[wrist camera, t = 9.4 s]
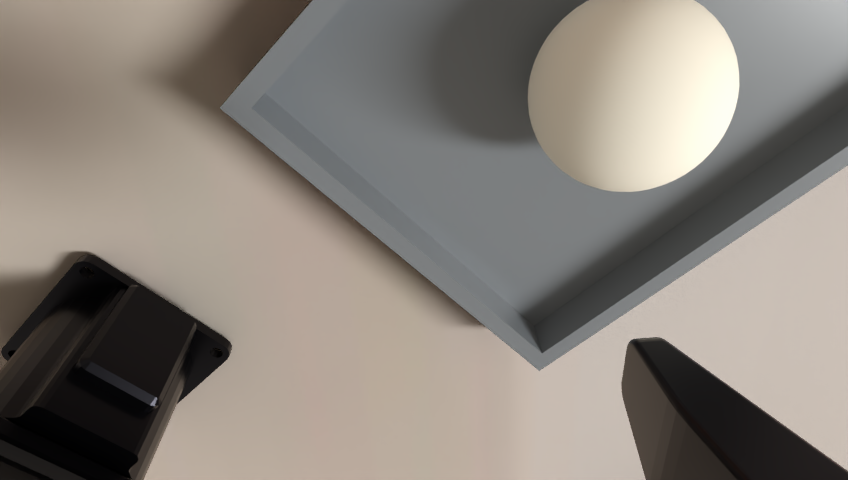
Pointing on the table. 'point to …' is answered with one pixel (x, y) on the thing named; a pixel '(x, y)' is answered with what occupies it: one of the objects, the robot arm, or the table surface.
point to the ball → (633, 91)
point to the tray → (534, 152)
